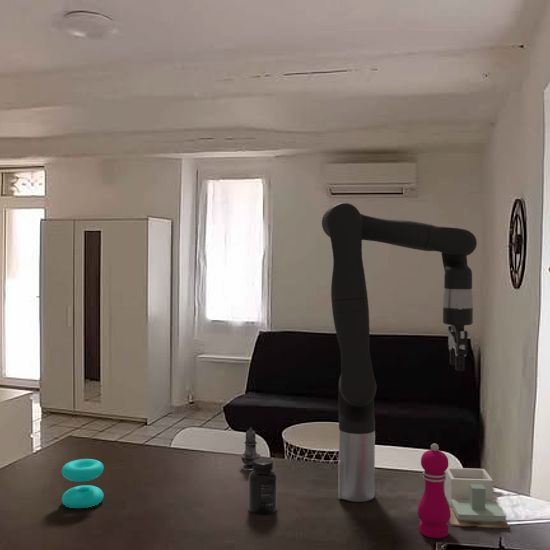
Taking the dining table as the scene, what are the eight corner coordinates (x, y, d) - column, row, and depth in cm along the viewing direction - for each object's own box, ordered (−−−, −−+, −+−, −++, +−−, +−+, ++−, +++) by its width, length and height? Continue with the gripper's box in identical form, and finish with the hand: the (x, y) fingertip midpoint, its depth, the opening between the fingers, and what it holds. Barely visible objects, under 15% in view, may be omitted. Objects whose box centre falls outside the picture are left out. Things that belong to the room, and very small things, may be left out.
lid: (458, 523, 150) (458, 492, 149) (450, 508, 159) (450, 478, 159) (505, 525, 149) (505, 494, 149) (495, 509, 158) (495, 480, 158)
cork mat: (451, 525, 150) (451, 524, 150) (443, 509, 159) (443, 507, 159) (509, 528, 148) (509, 526, 148) (498, 511, 158) (498, 509, 158)
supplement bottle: (280, 507, 160) (280, 458, 160) (271, 517, 154) (271, 466, 154) (254, 503, 163) (254, 455, 162) (244, 513, 156) (244, 463, 156)
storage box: (451, 507, 161) (451, 479, 161) (444, 494, 170) (445, 467, 170) (492, 508, 160) (492, 480, 160) (483, 495, 169) (484, 468, 169)
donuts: (52, 466, 159) (81, 455, 169) (52, 506, 160) (81, 493, 169) (84, 472, 155) (112, 460, 164) (84, 513, 156) (112, 500, 165)
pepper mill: (413, 526, 149) (414, 439, 149) (444, 525, 150) (444, 438, 149) (423, 539, 142) (424, 448, 141) (455, 538, 142) (456, 447, 142)
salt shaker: (257, 471, 187) (258, 430, 187) (238, 470, 188) (238, 428, 188) (262, 465, 193) (262, 425, 193) (243, 464, 194) (243, 423, 194)
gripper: (439, 304, 178) (438, 363, 178) (447, 307, 164) (446, 372, 164) (467, 304, 177) (466, 364, 177) (478, 308, 163) (477, 373, 163)
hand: (457, 367), depth 171 cm, fingers open, 8 cm apart
